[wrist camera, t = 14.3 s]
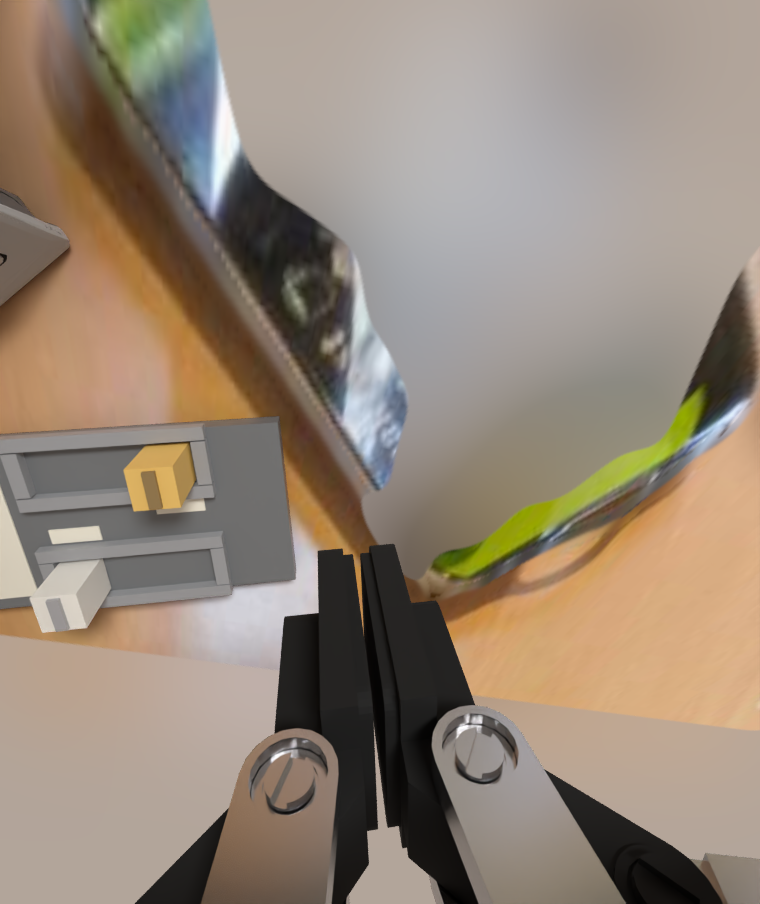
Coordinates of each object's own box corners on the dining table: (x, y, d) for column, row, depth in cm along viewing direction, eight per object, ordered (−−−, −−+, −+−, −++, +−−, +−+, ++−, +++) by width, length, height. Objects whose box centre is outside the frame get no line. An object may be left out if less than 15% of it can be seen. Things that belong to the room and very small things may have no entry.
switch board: (-65, 434, 34) (-90, 445, 32) (278, 412, 36) (276, 422, 34) (2, 600, 39) (-16, 620, 37) (296, 571, 42) (295, 588, 40)
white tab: (61, 560, 37) (27, 601, 32) (102, 556, 37) (74, 596, 33) (71, 592, 38) (40, 635, 34) (111, 588, 38) (85, 631, 34)
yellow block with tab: (146, 444, 34) (121, 471, 30) (189, 441, 35) (171, 468, 30) (154, 482, 36) (132, 513, 31) (196, 479, 36) (179, 509, 31)
